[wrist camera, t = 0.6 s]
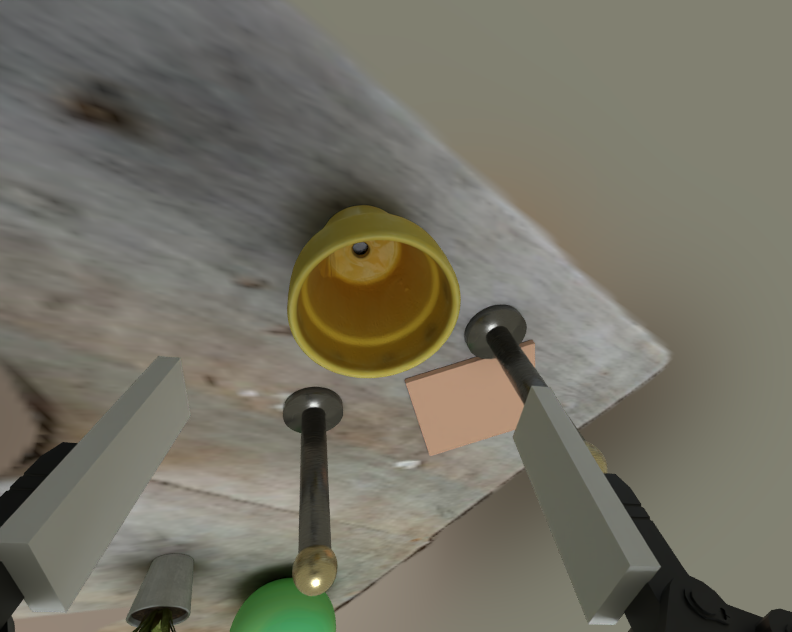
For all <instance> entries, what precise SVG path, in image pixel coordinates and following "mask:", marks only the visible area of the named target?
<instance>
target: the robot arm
mask: <svg viewBox="0 0 792 632" xmlns="http://www.w3.org/2000/svg"><path fill="white" fill-rule="evenodd" d="M190 416H191V414H190V409H189V403H188V397H187V391H186V386H185V380H184V374H183V369H182V363H181V358H174V357H162V356H158V357H157V358H156V359H155V360H154V361H153V363H152V364H151V365H150V366H149V367H148V368H147V369H146V370H145V371H144V372H143V373H142V375H141V376H140V377H139V378H138V379H137V380H136V381H135V382H134V383H133V384H132V385H131V386H130V388H129V389H128V390H127V391H126V392H125V393H124V394H123V395H122V396H121V397H120V398H119V399H118V401H117V402H116V403H115V404H114V405H113V406H112V407H111V408H110V409H109V410H108V411H107V412H106V414H105V415H104V416H103V417H102V418H101V419H100V420H99V421H98V422H97V423H96V424H95V426H94V427H93V428H92V429H91V430H90V431H89V432H88V433H87V434H86V435H85V436H84V437H83V439H82V440H81V441H80V442H79V443H67V442H63V443H61V444H59V445H58V446H56V447H55V448H53V449H51V450H50V451H48V452H47V453H45V454H44V455H42V456H41V457H40V458H39V459H38V460H37V461H36V462H35V463H34V464H33V465H32V466H31V467H30V468H29V469H28V470H27V471H26V472H25V473H24V475H23V476H22V477H20V478H19V479H18V480H17V481H16V482H15V483H14V484H13V485H12V486H11V487H10V490H9V491H6V492H5V493H4V494H3V495H2V496H1V497H0V632H15V625H14V621H13V618H12V616H11V615H12V614H13V612H14V611H15V610H16V608H17V607H18V606H19V604H20V603H21V602H22V600H23V599H24V600H25V602H26V603H27V605H28V606H29V608H30V609H31V611H32V612H67V611H68V609H69V607H70V606H71V604H72V603H73V601H74V600H75V598H76V596H77V595H78V593H79V592H80V590H81V588H82V587H83V585H84V584H85V582H86V581H87V579H88V577H89V576H90V574H91V573H92V571H93V569H94V568H95V566H96V565H97V563H98V562H99V560H100V558H101V557H102V555H103V554H104V552H105V551H106V549H107V547H108V546H109V544H110V543H111V541H112V539H113V538H114V536H115V535H116V533H117V532H118V530H119V528H120V527H121V525H122V524H123V522H124V520H125V519H126V517H127V516H128V514H129V513H130V511H131V509H132V508H133V506H134V505H135V503H136V502H137V500H138V498H139V497H140V495H141V494H142V492H143V490H144V489H145V487H146V486H147V484H148V483H149V481H150V479H151V478H152V476H153V475H154V473H155V471H156V470H157V468H158V467H159V465H160V464H161V462H162V460H163V459H164V457H165V456H166V454H167V453H168V451H169V449H170V448H171V446H172V445H173V443H174V441H175V440H176V438H177V437H178V435H179V434H180V432H181V430H182V429H183V427H184V426H185V424H186V422H187V421H188V419H189V418H190ZM513 439H514V442H515V444H516V447H517V449H518V452H519V454H520V457H521V459H522V461H523V464H524V466H525V469H526V471H527V474H528V476H529V479H530V481H531V484H532V486H533V489H534V491H535V494H536V496H537V499H538V501H539V503H540V506H541V508H542V511H543V513H544V516H545V518H546V521H547V523H548V526H549V528H550V531H551V533H552V536H553V538H554V541H555V543H556V546H557V548H558V551H559V553H560V555H561V558H562V560H563V563H564V565H565V568H566V570H567V573H568V575H569V578H570V580H571V583H572V585H573V588H574V590H575V593H576V595H577V598H578V600H579V602H580V605H581V607H582V610H583V612H584V615H585V617H586V620H587V622H588V624H610V625H612V624H613V625H615V624H616V623H617V621H618V620H619V619H620V618H621V616H622V615H623V614H624V613H625V615H626V617H627V619H628V621H629V623H630V626H631V628H630V630H629V631H628V632H792V612H790V611H786V610H783V609H775V610H771V611H770V612H769V613H768V614H767V615H766V616H765V617H760V616H757V615H754V614H752V613H749V612H746V611H744V610H741V609H738V608H735V607H733V606H730V605H727V604H726V603H725V602H724V601H723V600H722V599H721V598H720V597H719V595H718V594H717V593H716V592H715V591H714V590H712V589H711V588H710V587H709V586H707V585H706V584H705V583H703V582H702V581H699V580H697V579H695V578H693V577H691V576H689V575H688V574H687V572H686V571H685V569H684V568H683V566H682V565H681V563H680V562H679V560H678V559H677V558H676V556H675V554H674V553H673V551H672V550H671V548H670V547H669V545H668V544H667V542H666V541H665V539H664V538H663V536H662V535H661V533H660V532H659V530H658V529H657V527H656V526H655V524H654V523H653V521H651V520H650V517H649V515H648V514H647V512H646V511H645V509H644V508H643V507H641V503H640V502H639V500H638V499H637V497H636V496H635V494H634V493H633V491H632V490H631V488H630V487H629V486H628V485H627V484H626V483H624V482H623V481H622V480H621V479H620V478H619V477H618V476H617V475H616V474H608V473H603V472H602V470H601V469H600V467H599V466H598V464H597V462H596V461H595V459H594V457H593V456H592V454H591V453H590V451H589V449H588V448H587V446H586V444H585V443H584V441H583V440H582V438H581V436H580V435H579V433H578V431H577V430H576V428H575V427H574V425H573V423H572V422H571V420H570V418H569V417H568V415H567V414H566V412H565V410H564V409H563V407H562V405H561V404H560V402H559V401H558V399H557V397H556V396H555V394H554V392H553V391H552V389H551V388H550V387H541V386H531V388H530V391H529V394H528V397H527V399H526V402H525V405H524V408H523V410H522V413H521V416H520V418H519V421H518V424H517V427H516V429H515V432H514V435H513Z"/></svg>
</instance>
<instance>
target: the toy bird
mask: <svg viewBox="0 0 792 632" xmlns="http://www.w3.org/2000/svg"><path fill="white" fill-rule="evenodd" d="M230 632H336V620H335V613H334V609H333V606H332V603H331V601H330V599H329V597H328V596H327V594H326V593H325V592H324V593H322V594H320V595H317V596H307V595H305V594H303V593H301V592H300V591H299V590H298V589H297V587H296V586H295V584H294V581H293V578H283V579H278V580H275V581H272V582H270V583H267V584H265V585H263V586H262V587H260V588H259V589H257V590H256V591H255V592H254V593H252V594H251V595H250V596H249V597H248V599H247V600H246V601H245V602H244V603H243V605H242V606H241V608H240V609H239V611H238V613H237V614H236V616H235V618H234V621H233V623H232V626H231V628H230Z"/></svg>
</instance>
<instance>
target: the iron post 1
mask: <svg viewBox="0 0 792 632" xmlns="http://www.w3.org/2000/svg"><path fill="white" fill-rule="evenodd" d="M342 416H343V406H342V401H341V398H340V397H339V396H338V395H337V394H336V393H335V392H333V391H331V390H329V389H326V388H320V387H310V388H305V389H302V390H299V391H297V392H295V393H293V394H292V395H291V396H290V397H289V398H288V399H287V400H286V402H285V404H284V411H283V419H284V422H285V424H286V425H287V426H288V427H289V428H290V429H292V430H294V431H296V432H299V433H301V463H300V509H299V554H298V555H297V557H296V559H295V561H294V564H293V570H292V576H293V581H294V584H295V586H296V587H297V589H298V590H299V591H300V592H301V593H303V594H305V595H307V596H317V595H320V594H322V593H324V592H325V591H327V590H328V589H329V588H330V587H331V585H332V584H333V582H334V580H335V578H336V574H337V559H336V556H335V554H334V552H333V551H332V549H331V532H330V509H329V485H328V462H327V438H326V431H328V430H330V429H332V428H333V427H335V426H336V425H337V424H338V423H339V422H340V421H341V419H342Z"/></svg>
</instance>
